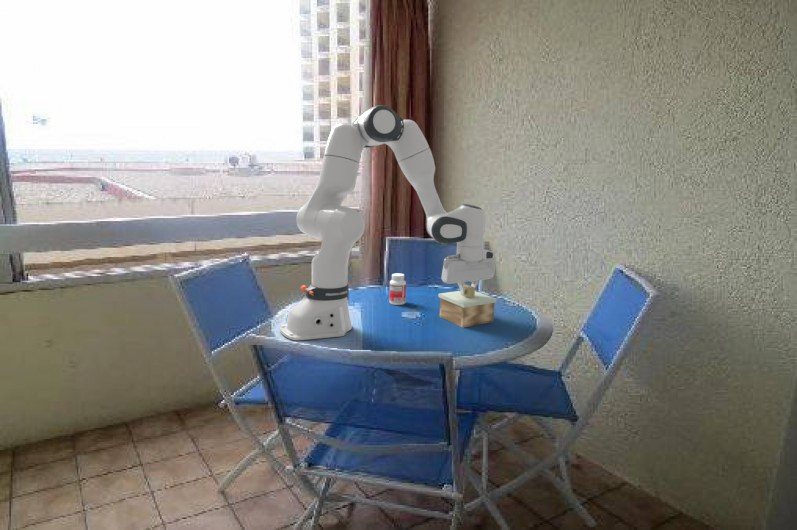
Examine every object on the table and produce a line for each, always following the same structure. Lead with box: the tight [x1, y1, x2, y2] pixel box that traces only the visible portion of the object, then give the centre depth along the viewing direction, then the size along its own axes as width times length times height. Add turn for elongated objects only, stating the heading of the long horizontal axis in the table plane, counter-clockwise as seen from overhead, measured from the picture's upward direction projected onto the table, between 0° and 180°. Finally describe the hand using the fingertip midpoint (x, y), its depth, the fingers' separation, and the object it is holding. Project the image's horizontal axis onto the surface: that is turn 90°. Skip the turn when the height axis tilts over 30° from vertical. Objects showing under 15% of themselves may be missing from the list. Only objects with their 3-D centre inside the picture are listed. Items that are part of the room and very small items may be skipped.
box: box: [439, 298, 495, 329], centre depth 174 cm, size 13×13×7 cm
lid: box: [438, 283, 498, 308], centre depth 173 cm, size 14×14×5 cm
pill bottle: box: [388, 272, 407, 306], centre depth 191 cm, size 6×6×11 cm
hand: (467, 293), depth 173 cm, fingers closed on lid, 2 cm apart
